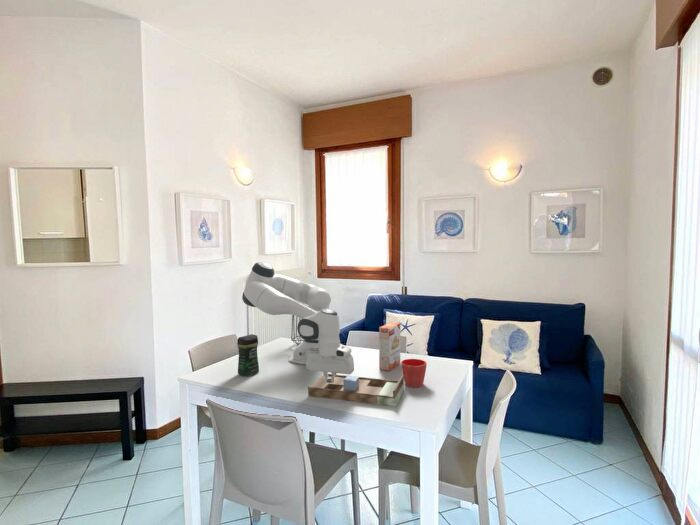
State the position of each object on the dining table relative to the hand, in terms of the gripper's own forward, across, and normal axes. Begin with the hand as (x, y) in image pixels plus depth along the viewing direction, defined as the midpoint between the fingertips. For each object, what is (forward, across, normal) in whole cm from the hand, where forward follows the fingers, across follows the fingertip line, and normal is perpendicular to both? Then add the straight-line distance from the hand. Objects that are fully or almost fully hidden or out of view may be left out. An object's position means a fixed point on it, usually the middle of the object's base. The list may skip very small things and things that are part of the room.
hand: (330, 382), depth 158 cm
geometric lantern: (+5, -43, +64) cm, 78 cm away
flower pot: (+5, +31, +20) cm, 37 cm away
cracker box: (+5, +16, +40) cm, 43 cm away
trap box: (+5, +10, +4) cm, 12 cm away
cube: (+2, +9, 0) cm, 9 cm away
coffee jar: (+5, -47, +12) cm, 48 cm away
